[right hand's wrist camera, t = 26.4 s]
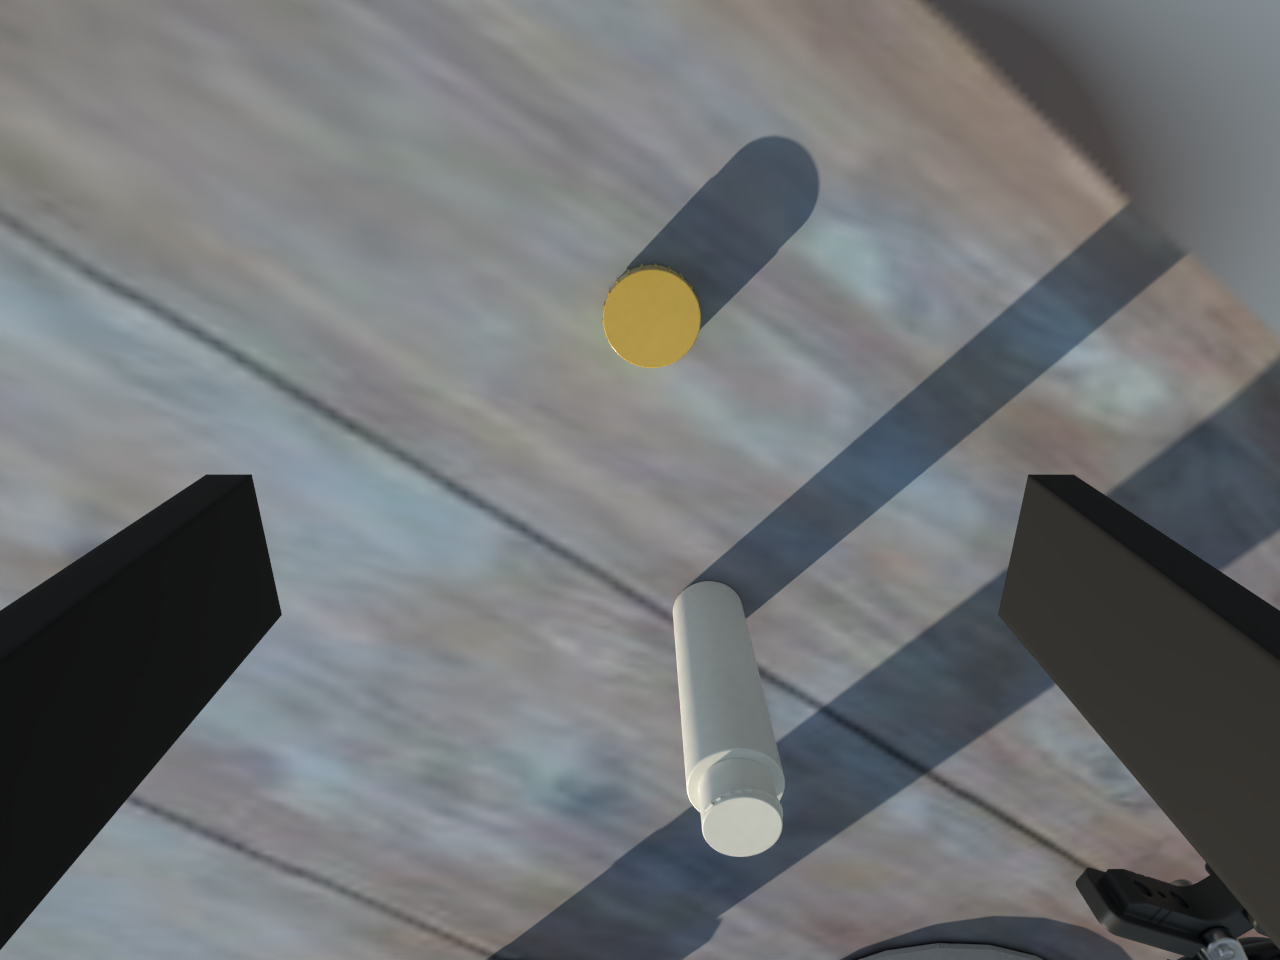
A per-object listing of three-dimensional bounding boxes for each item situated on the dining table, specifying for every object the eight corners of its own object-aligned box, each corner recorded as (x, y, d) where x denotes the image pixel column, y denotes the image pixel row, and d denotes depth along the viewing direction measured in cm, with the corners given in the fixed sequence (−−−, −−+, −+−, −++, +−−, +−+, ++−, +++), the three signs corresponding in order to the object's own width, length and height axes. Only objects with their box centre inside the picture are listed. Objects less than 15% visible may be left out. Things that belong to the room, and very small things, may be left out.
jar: (756, 603, 44) (816, 817, 29) (714, 651, 45) (751, 880, 30) (700, 568, 43) (732, 770, 28) (659, 618, 44) (669, 837, 29)
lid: (601, 355, 38) (599, 365, 36) (606, 258, 36) (605, 263, 34) (693, 362, 38) (696, 373, 36) (703, 266, 37) (707, 271, 34)
